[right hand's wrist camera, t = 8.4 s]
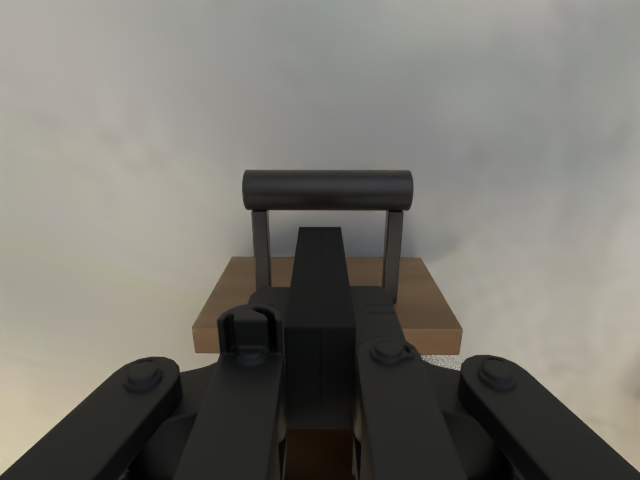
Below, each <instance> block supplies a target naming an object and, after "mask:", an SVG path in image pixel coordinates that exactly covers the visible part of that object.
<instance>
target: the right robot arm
mask: <svg viewBox="0 0 640 480" xmlns="http://www.w3.org/2000/svg"><path fill="white" fill-rule="evenodd" d="M217 327H218V337H219V346H220V356H219V359H218V362H216V363H214V364H212V365H209V366H206V367H203V368H199V369H195V370H190V371H186V372H181V373H180V370H179V366H178V365H177V364H176V363H175V361H174V360H171V359H168V358H165V357H148V358H142V359H138V360H136V361H133V362H131V363H129V364H126V365H124V366H123V367H121V368H120V369H119V370H117V371H116V372H114V373H113V374H112V375H111V376H110V377H109V378H108V379H107V380H105V381H104V382H103V383H102V384H101V385H100V386H99V387H98V388H97V389H96V390H94V391H93V392H92V393H91V394H90V395H89V396H88V397H87V398H86V399H84V400H83V401H82V402H81V403H80V404H79V405H78V406H77V407H76V408H75V409H73V410H72V411H71V412H70V413H69V414H68V415H67V416H66V417H65V418H64V419H62V420H61V421H60V422H59V423H58V424H57V425H56V426H55V427H54V428H52V429H51V430H50V431H49V432H48V433H47V434H46V435H45V436H44V437H43V438H41V439H40V440H39V441H38V442H37V443H36V444H35V445H34V446H33V447H32V448H30V449H29V450H28V451H27V452H26V453H25V454H24V455H23V456H22V457H20V458H19V459H18V460H17V461H16V462H15V463H14V464H13V465H12V466H11V467H9V468H8V469H7V470H6V471H5V472H4V473H3V474H2V475H1V476H0V480H284V477H285V466H286V455H287V436H286V430H287V427H288V429H352V427H353V428H354V436H353V463H352V475H355V476H356V480H640V473H639V472H638V471H637V470H636V469H635V468H634V467H633V466H632V465H630V464H629V463H628V462H627V461H626V460H625V459H624V458H623V457H622V456H620V455H619V454H618V453H617V452H616V451H615V450H614V449H613V448H612V447H610V446H609V445H608V444H607V443H606V442H605V441H604V440H603V439H602V438H600V437H599V436H598V435H597V434H596V433H595V432H594V431H593V430H592V429H590V428H589V427H588V426H587V425H586V424H585V423H584V422H583V421H582V420H580V419H579V418H578V417H577V416H576V415H575V414H574V413H573V412H572V411H570V410H569V409H568V408H567V407H566V406H565V405H564V404H563V403H562V402H560V401H559V400H558V399H557V398H556V397H555V396H554V395H553V394H552V393H550V392H549V391H548V390H547V389H546V388H545V387H544V386H543V385H542V384H540V383H539V382H538V381H537V380H536V379H535V378H534V377H533V376H532V375H530V374H529V373H528V372H527V371H526V370H524V369H523V368H522V367H520V366H519V365H517V364H516V363H514V362H511V361H509V360H507V359H504V358H501V357H497V356H491V355H476V356H473V357H470V358H467V359H466V360H465V361H464V362H463V363H462V364H461V370H460V371H458V370H453V369H448V368H444V367H440V366H436V365H433V364H430V363H428V362H426V361H423V360H422V358H421V356H420V353H419V352H418V351H417V349H416V348H415V346H413V345H412V344H410V343H409V342H407V341H406V340H405V337H404V334H403V331H402V328H401V325H400V323H399V320H398V317H397V314H396V311H395V308H394V306H393V302H392V300H391V297H390V294H389V293H388V292H387V291H385V290H384V289H383V288H382V287H381V286H350V284H349V278H348V272H347V265H346V259H345V252H344V246H343V239H342V233H341V227H299V233H298V239H297V246H296V252H295V259H294V265H293V272H292V278H291V284H290V287H260V288H259V289H257V290H256V291H255V292H254V293H253V294H252V295H250V298H249V301H248V304H246V305H240V306H237V307H234V308H231V309H229V310H227V311H226V312H224V313H222V314H221V315H220V317H219V318H218V319H217Z"/></svg>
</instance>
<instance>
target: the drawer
mask: <svg viewBox="0 0 640 480" xmlns="http://www.w3.org/2000/svg"><path fill="white" fill-rule="evenodd" d="M242 195H243V202H244V206H245V208H246V209H247V210H252V213H251V214H252V230H253V246H254V257H232V258H231V260H230V261H229V263H228V265H227V267H226V269H225V270H224V272H223V274H222V276H221V277H220V279H219V281H218V283H217V284H216V286H215V288H214V290H213V291H212V293H211V295H210V297H209V298H208V300H207V302H206V304H205V306H204V307H203V309H202V311H201V313H200V314H199V316H198V318H197V320H196V321H195V323H194V325H193V327H192V332H193V340H194V347H195V352H196V353H220V346H219V337H218V327H217V319H218V318H219V317H220V315H221V314H222V313H224V312H226V311H227V310H229V309H231V308H234V307H237V306H240V305H246V304H248V301H249V298H250V295H252V294H253V293H254V292H255V291H256V290H257V289H259V288H260V287H290V284H291V278H292V272H293V265H294V259H295V257H271V255H270V234H269V212H268V210H381V211H386V223H385V240H384V256H383V258H359V257H345V259H346V265H347V272H348V278H349V284H350V286H381V287H382V288H383V289H384V290H385V291H387V292H388V293H389V294H390V297H391V300H392V302H393V306H394V308H395V311H396V314H397V317H398V320H399V323H400V325H401V328H402V331H403V334H404V337H405V340H406V341H407V342H409V343H410V344H412V345H413V346H415V348H416V349H417V351H418V352H419V353H420V355H459V352H460V345H461V338H462V331H463V329H462V327H461V326H460V324H459V322H458V320H457V319H456V317H455V315H454V314H453V312H452V310H451V308H450V307H449V305H448V303H447V302H446V300H445V298H444V297H443V295H442V293H441V291H440V290H439V288H438V286H437V285H436V283H435V281H434V279H433V278H432V276H431V274H430V273H429V271H428V269H427V267H426V266H425V264H424V262H423V261H422V259H421V258H400V253H401V240H402V227H403V214H404V213H403V211H407V210H409V209H410V207H411V204H412V200H413V177H412V173H411V171H409V170H246V171H245V172H244V175H243V182H242ZM286 436H287V455H286V466H285V477H284V480H356V476H355V475H352V463H353V436H354V428H353V427H352V429H288V427H287V430H286Z"/></svg>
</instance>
